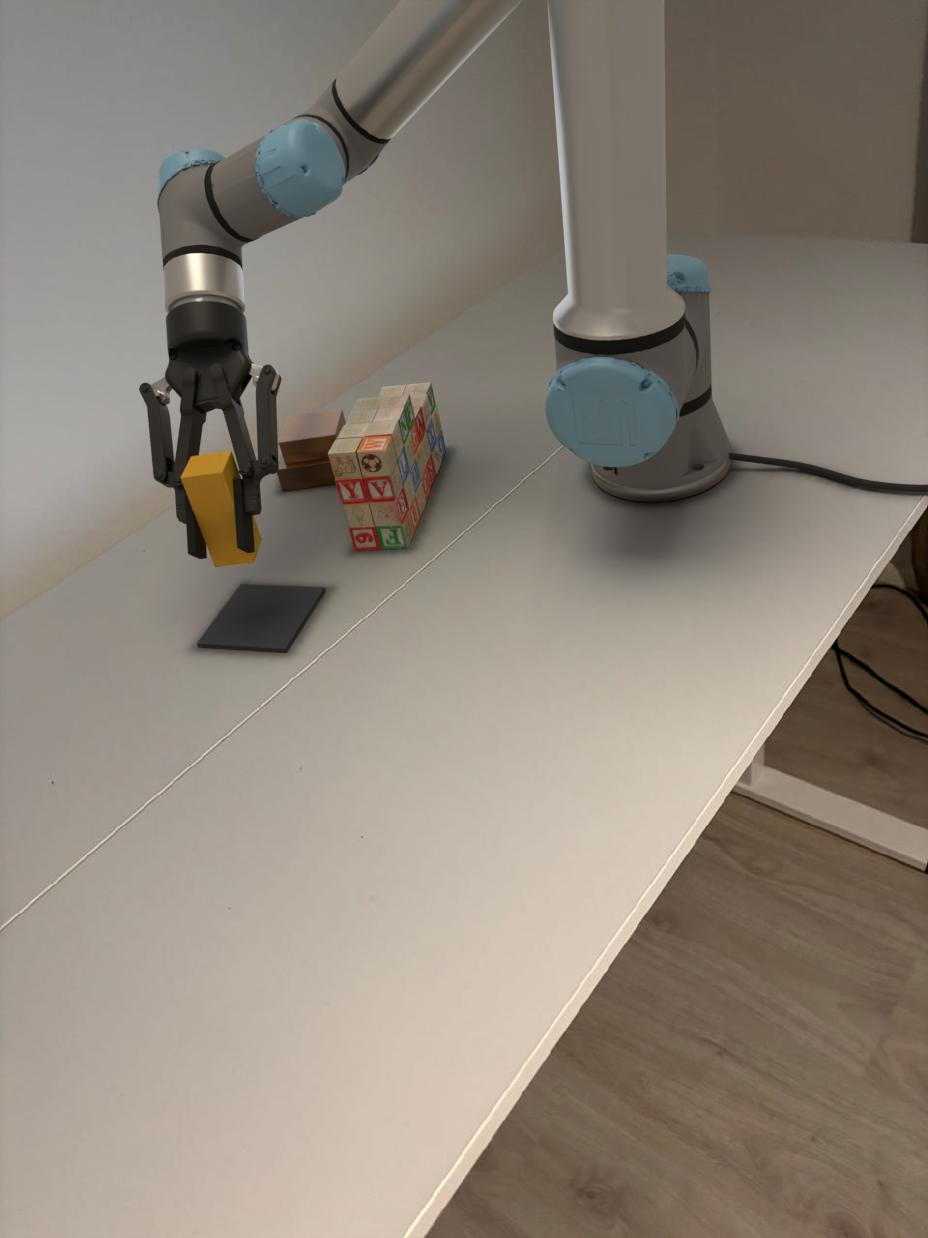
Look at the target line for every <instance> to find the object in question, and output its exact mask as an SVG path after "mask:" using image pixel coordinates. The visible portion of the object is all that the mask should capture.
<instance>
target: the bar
mask: <svg viewBox="0 0 928 1238" xmlns="http://www.w3.org/2000/svg"><path fill="white" fill-rule="evenodd" d="M237 470H239V467H238V464H237V461H236V458H235V457H234V454H233V451H232V450H229V451H227V450H226V451H220V452H213V453H206V454H199V455H198V456H191V457H190V460H189V462H188V464H187V466H186V468H185V470H184V472H183V474H182V476H181V480H182V483H183V485H184V488H185V491H186V493H187V496H188V498H189V501H190V504H191V506H192V509H193V511H194V514H195V517H196V519H197V522H198V525H199V527H200V530H201V532H202V535H203V538H204V540H205V543H206V549H207V550H208V551H207V552H208V553H209V556H210V558H211V561H212V563H213V566H214V568H220V567H228V566H235V565H237V566H238V565H243V564H252V563H255V561H256V559H257V557H258V556H257V555H258V552H259V550H260V546H261V543H262V540H263V539H262V535H261V533H260V530H259V527H258V524H257V521H256V518H255V515H252V518H253V532H254V546H255V552H253V553H246V552H244V551H242V550H240V549H238V548H237V539H236V525H235V510H234V492H233V479H235V478H241V479H242V476H241V474H240V473H238V471H237Z"/></svg>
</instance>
